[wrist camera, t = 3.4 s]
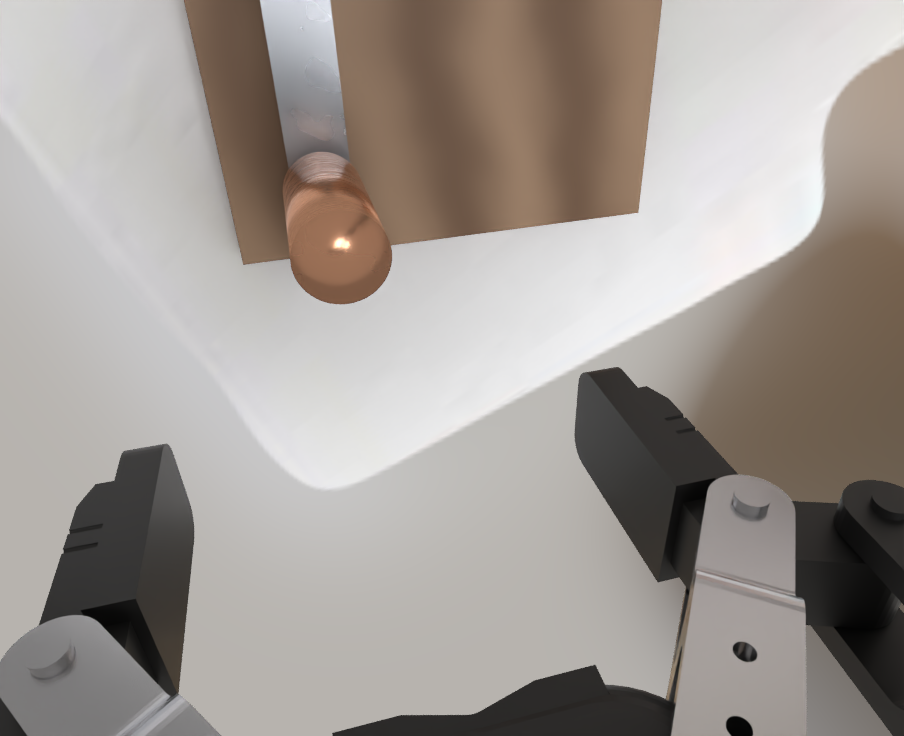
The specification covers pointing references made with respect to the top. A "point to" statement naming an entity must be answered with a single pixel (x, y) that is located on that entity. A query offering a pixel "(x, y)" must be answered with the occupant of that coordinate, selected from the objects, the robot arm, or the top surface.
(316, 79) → the lever
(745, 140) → the top surface
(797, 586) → the robot arm
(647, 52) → the press board
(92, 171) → the top surface
